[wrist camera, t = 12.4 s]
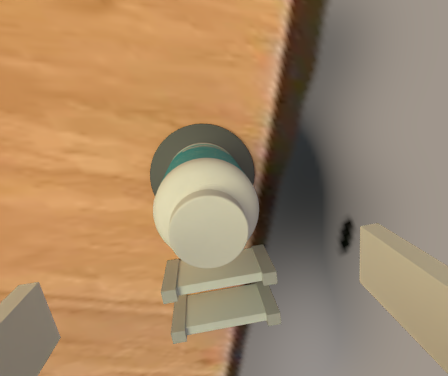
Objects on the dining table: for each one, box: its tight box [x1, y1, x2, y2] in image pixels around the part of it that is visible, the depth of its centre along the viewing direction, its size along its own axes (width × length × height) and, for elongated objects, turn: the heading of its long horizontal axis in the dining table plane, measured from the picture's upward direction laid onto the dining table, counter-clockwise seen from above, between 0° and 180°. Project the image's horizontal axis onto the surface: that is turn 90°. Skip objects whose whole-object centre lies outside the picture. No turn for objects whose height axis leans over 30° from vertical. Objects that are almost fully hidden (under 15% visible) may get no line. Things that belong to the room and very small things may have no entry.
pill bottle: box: [153, 143, 259, 268], centre depth 22 cm, size 8×7×14 cm
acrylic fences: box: [161, 244, 281, 344], centre depth 29 cm, size 11×6×6 cm, turn 98°
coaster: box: [150, 124, 254, 196], centre depth 28 cm, size 11×11×1 cm
